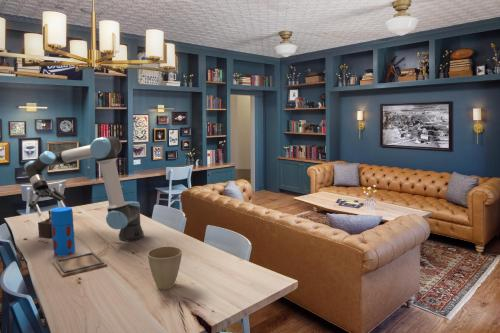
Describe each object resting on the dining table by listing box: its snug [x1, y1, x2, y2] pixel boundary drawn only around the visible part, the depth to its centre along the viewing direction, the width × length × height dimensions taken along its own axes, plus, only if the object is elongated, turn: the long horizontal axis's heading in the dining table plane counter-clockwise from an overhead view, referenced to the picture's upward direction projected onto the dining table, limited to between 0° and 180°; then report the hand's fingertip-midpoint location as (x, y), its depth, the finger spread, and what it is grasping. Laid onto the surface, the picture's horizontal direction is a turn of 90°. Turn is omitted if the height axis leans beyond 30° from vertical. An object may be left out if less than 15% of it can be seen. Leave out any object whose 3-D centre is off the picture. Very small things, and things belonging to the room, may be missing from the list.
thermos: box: [50, 206, 76, 257], centre depth 208 cm, size 11×11×25 cm
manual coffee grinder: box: [37, 205, 68, 239], centre depth 242 cm, size 16×11×18 cm
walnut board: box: [52, 251, 108, 278], centre depth 192 cm, size 21×21×2 cm
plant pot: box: [147, 245, 183, 290], centre depth 166 cm, size 15×15×16 cm
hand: (52, 212), depth 213 cm, fingers open, 13 cm apart
